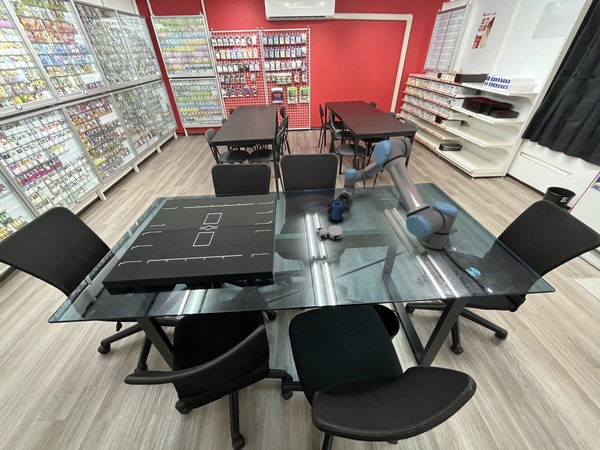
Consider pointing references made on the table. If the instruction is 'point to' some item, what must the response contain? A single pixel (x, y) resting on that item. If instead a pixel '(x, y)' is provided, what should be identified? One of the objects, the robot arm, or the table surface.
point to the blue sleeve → (336, 210)
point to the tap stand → (335, 220)
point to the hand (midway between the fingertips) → (334, 213)
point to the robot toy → (330, 232)
